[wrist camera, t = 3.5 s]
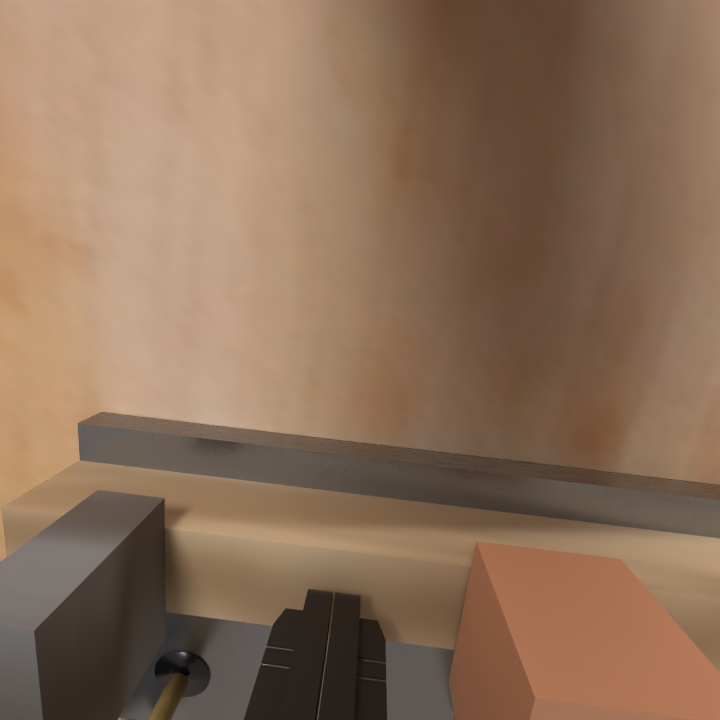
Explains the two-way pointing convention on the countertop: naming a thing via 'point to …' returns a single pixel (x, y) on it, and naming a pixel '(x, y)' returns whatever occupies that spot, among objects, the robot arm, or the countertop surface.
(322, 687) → the robot arm
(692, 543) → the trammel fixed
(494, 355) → the countertop surface
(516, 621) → the slider leg
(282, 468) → the hole plate
